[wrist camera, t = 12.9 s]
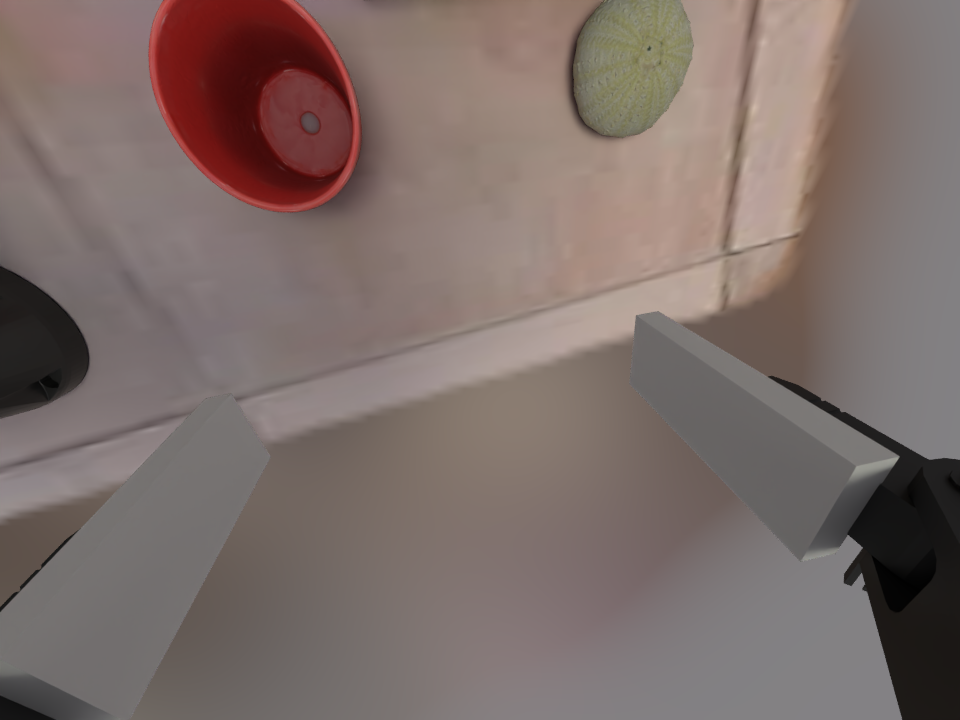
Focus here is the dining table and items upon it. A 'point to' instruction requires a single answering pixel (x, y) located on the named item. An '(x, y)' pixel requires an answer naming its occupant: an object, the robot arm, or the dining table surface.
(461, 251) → the dining table surface
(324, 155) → the flower pot
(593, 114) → the sea urchin shell
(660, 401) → the robot arm
